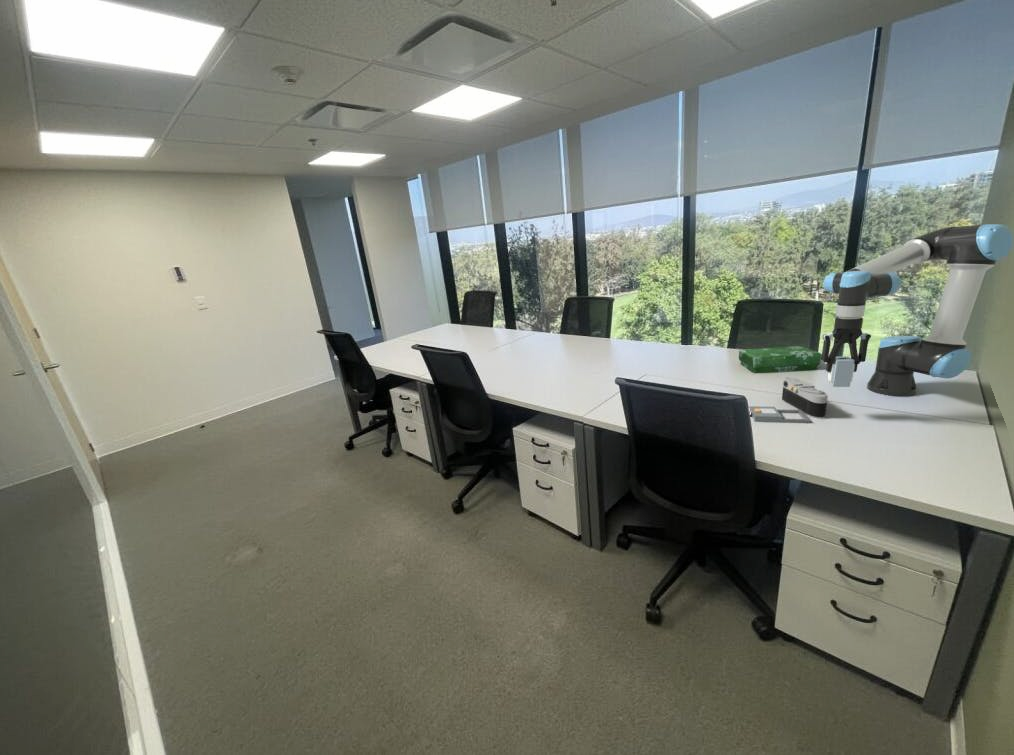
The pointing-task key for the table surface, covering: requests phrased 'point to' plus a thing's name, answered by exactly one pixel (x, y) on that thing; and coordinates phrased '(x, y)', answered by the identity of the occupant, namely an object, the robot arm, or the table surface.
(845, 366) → the block
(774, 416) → the grey rectangular base
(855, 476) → the table surface
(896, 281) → the robot arm
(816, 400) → the camera
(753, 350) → the box
